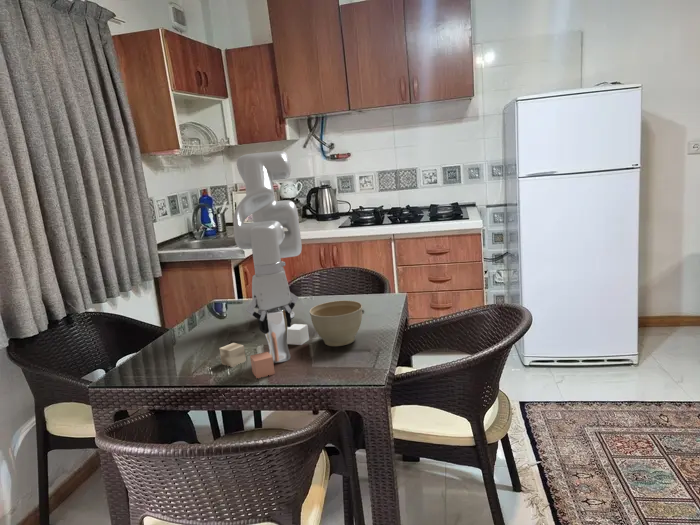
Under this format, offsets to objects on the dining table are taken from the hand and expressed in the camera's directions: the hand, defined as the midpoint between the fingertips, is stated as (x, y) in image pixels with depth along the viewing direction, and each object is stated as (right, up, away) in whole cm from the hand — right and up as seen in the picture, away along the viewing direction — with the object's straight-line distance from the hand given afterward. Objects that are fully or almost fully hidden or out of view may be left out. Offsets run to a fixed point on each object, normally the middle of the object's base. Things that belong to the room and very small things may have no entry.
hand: (276, 328), depth 151 cm
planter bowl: (+18, -6, +12) cm, 22 cm away
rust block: (-2, -11, -7) cm, 14 cm away
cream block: (+5, -6, +15) cm, 17 cm away
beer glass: (+1, -9, +2) cm, 9 cm away
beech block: (-13, -10, +3) cm, 16 cm away
